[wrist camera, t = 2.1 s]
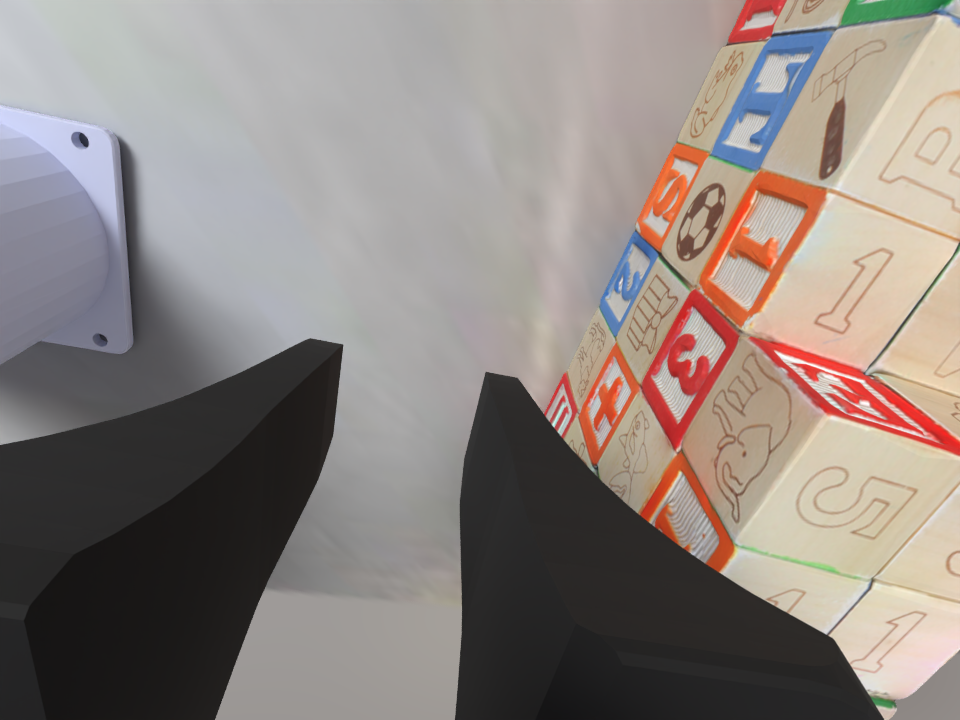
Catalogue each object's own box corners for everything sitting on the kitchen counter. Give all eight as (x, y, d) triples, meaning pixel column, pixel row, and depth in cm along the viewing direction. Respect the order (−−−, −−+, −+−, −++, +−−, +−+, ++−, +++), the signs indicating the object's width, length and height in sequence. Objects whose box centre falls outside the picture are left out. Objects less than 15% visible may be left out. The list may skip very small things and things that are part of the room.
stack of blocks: (772, -78, 16) (1453, -434, 5) (950, 9, 17) (1842, -124, 6) (507, 486, 25) (536, 809, 14) (633, 520, 26) (754, 847, 15)
